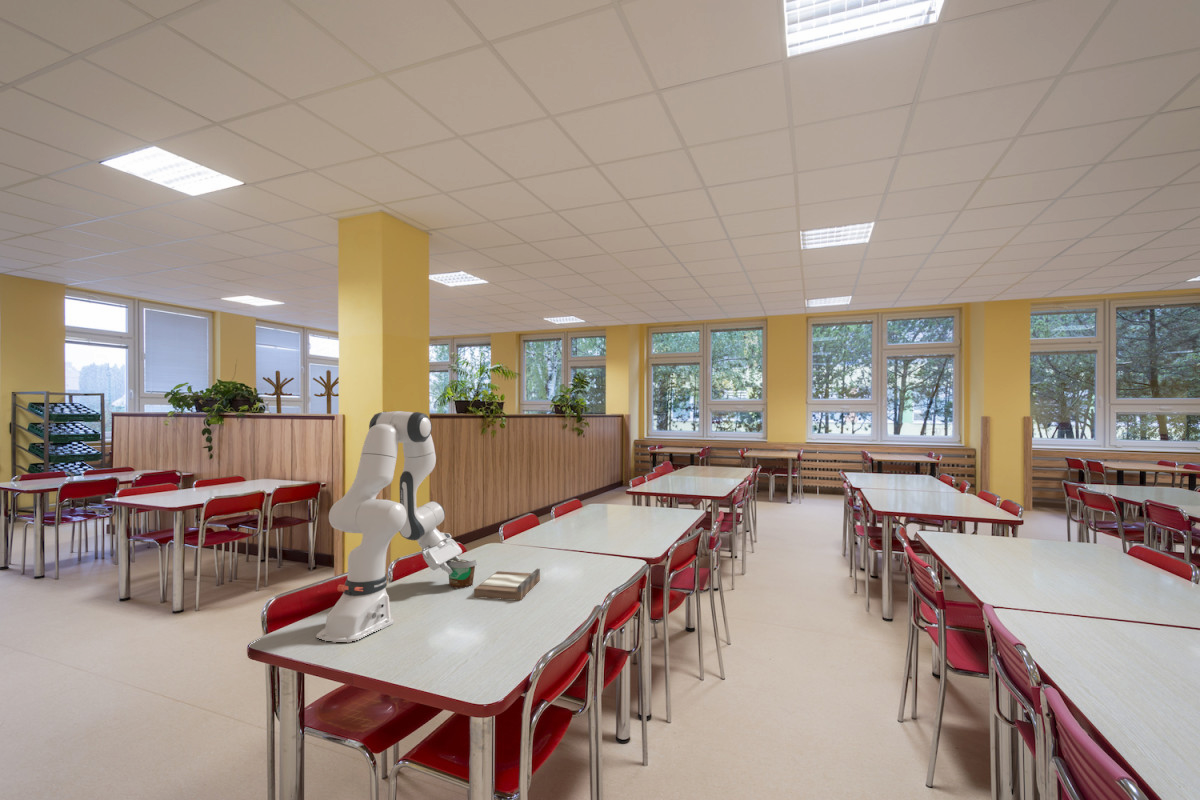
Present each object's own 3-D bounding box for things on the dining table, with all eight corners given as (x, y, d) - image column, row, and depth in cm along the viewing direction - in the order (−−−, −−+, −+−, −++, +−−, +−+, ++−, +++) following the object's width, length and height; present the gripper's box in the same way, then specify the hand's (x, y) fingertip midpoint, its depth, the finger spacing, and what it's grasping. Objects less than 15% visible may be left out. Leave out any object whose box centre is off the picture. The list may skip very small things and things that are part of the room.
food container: (439, 586, 195) (440, 560, 195) (448, 582, 201) (449, 556, 201) (467, 590, 191) (468, 564, 192) (475, 585, 197) (476, 559, 198)
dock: (520, 600, 181) (521, 586, 181) (473, 597, 184) (474, 583, 185) (539, 581, 203) (539, 568, 203) (497, 578, 206) (497, 566, 206)
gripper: (425, 544, 188) (449, 572, 186) (451, 532, 208) (473, 557, 206) (414, 555, 189) (437, 583, 187) (441, 543, 209) (462, 568, 207)
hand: (456, 570), depth 197 cm, fingers closed on food container, 6 cm apart
